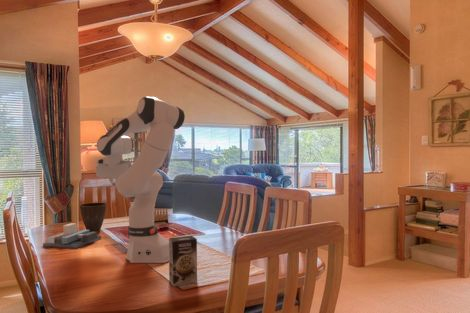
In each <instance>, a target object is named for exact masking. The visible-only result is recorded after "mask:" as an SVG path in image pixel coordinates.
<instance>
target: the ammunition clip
mask: <svg viewBox="0 0 470 313" xmlns="http://www.w3.org/2000/svg"><path fill="white" fill-rule="evenodd" d="M168 213H169V212H168V208H163V209H161V208H160V209H157V210H156V209H154V224H162V225H163V223H168V224H169V214H168Z"/></svg>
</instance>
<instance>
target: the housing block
mask: <svg viewBox="0 0 470 313" xmlns="http://www.w3.org/2000/svg"><path fill="white" fill-rule="evenodd" d="M77 224H78V223H77V222H74V223H73V222H70V223H67V224H64V225H62V228H63V230H62V231H63V232H62V233H63V237H65V236H68V235H71V234H74V233H77V230H78V227H77Z"/></svg>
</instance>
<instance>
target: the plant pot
mask: <svg viewBox="0 0 470 313" xmlns="http://www.w3.org/2000/svg"><path fill="white" fill-rule="evenodd" d="M79 209H80V210H79V211H80V214H81V218H82V222H83V225H84V227H85V230H90V232H97V233H98V232H100V231H101V230H102V225H103V223H104V221H105V216H106V210H107V203H105V202H88V203H87V202H86V203H83V204H80V205H79Z"/></svg>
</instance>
